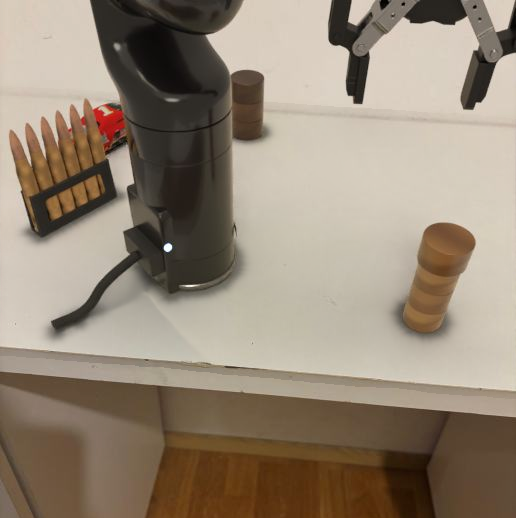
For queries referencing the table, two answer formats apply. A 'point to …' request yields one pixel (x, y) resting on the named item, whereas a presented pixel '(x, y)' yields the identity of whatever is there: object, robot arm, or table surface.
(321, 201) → the table surface
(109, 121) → the race car
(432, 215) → the table surface
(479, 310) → the table surface
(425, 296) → the oak chip base pile
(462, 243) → the oak chip
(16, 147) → the ammunition clip
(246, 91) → the walnut chip pile
